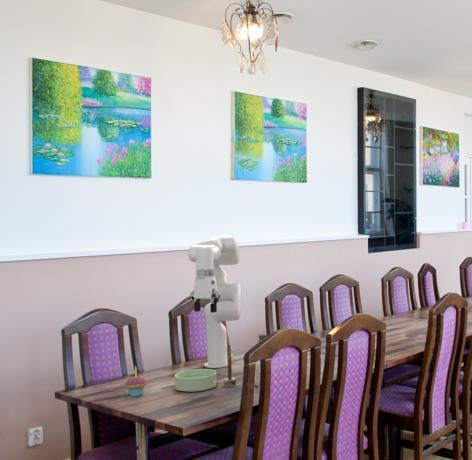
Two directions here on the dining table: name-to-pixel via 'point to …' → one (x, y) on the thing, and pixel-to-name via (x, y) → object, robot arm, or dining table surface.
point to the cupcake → (135, 385)
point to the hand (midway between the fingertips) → (205, 311)
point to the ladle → (229, 371)
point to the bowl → (195, 380)
